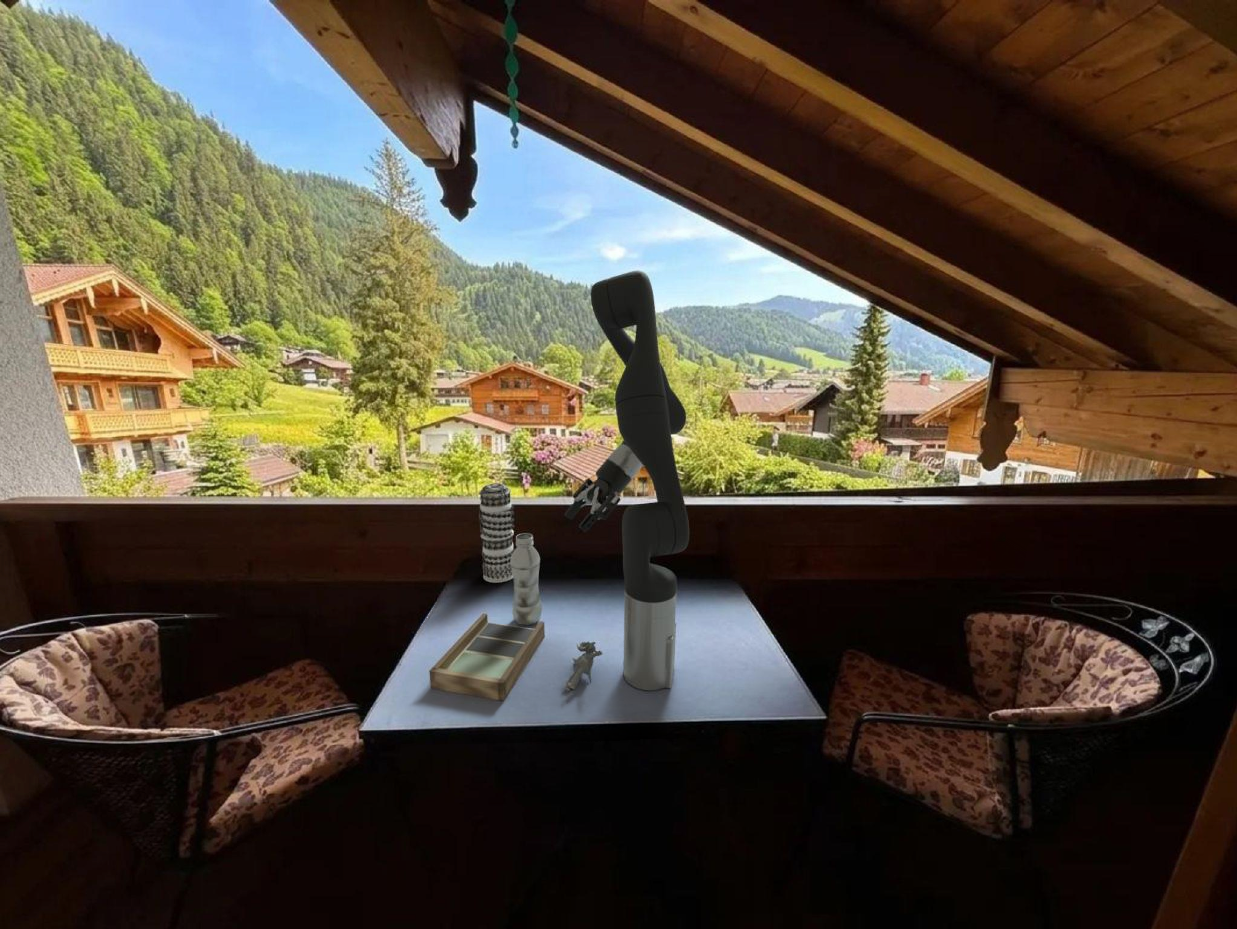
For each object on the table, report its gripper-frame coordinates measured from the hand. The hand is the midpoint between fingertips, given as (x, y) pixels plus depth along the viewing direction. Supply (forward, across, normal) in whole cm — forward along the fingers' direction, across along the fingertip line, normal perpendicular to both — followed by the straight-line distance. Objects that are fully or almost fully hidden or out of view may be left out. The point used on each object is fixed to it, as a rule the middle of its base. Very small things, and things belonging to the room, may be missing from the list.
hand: (574, 523), depth 103 cm
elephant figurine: (+21, +23, +10) cm, 33 cm away
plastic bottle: (+23, 0, +7) cm, 24 cm away
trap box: (+30, +10, 0) cm, 32 cm away
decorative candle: (+23, -24, +7) cm, 35 cm away
